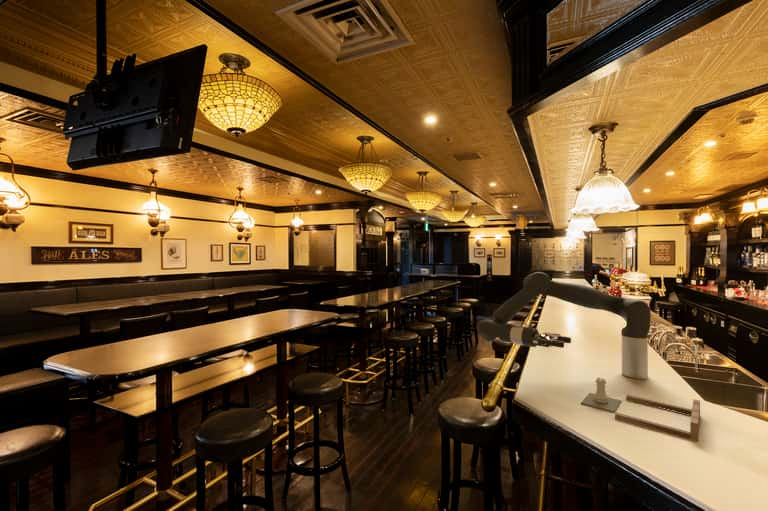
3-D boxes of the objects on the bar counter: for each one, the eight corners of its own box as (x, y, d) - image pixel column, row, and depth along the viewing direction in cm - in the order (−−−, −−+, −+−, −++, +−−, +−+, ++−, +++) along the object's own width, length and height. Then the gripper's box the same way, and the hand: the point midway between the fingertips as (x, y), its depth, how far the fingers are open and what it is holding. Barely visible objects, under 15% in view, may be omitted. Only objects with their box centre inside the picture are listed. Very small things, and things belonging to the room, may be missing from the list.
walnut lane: (627, 398, 125) (627, 385, 125) (700, 416, 111) (700, 400, 111) (615, 418, 109) (615, 403, 109) (698, 441, 96) (698, 423, 96)
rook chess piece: (606, 399, 123) (606, 377, 123) (610, 404, 118) (610, 381, 118) (592, 398, 124) (592, 376, 124) (595, 403, 120) (595, 380, 120)
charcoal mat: (589, 394, 129) (589, 392, 129) (621, 401, 122) (621, 400, 122) (580, 403, 120) (580, 402, 120) (614, 412, 113) (614, 411, 113)
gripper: (517, 329, 135) (561, 335, 124) (530, 324, 145) (572, 329, 134) (517, 348, 135) (561, 356, 124) (531, 341, 145) (573, 348, 134)
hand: (567, 342), depth 129 cm, fingers open, 8 cm apart
